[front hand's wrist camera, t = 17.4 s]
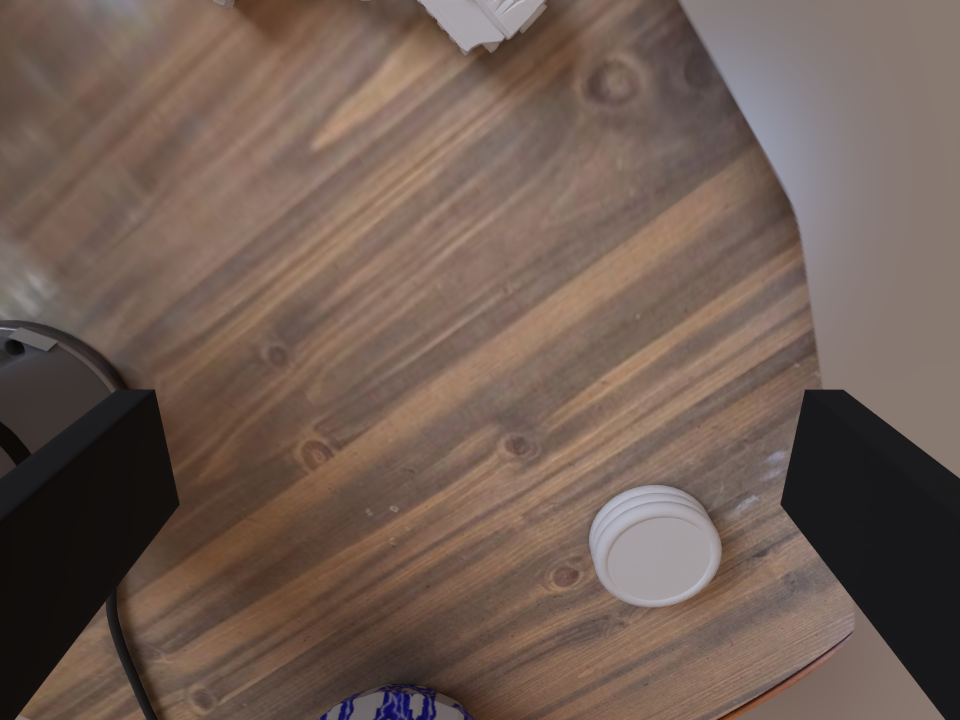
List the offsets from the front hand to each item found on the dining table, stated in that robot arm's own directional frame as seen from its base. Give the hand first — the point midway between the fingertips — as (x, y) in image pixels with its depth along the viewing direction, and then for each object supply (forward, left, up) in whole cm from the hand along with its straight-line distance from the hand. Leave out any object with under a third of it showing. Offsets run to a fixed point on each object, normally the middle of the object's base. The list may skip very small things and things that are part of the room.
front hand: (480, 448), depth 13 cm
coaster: (-30, +1, -31) cm, 43 cm away
